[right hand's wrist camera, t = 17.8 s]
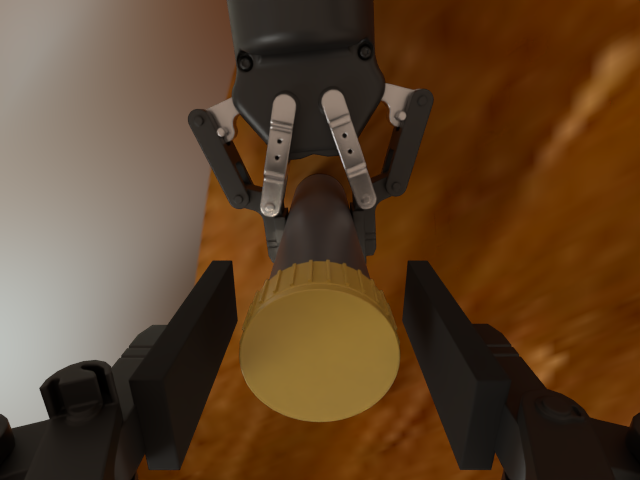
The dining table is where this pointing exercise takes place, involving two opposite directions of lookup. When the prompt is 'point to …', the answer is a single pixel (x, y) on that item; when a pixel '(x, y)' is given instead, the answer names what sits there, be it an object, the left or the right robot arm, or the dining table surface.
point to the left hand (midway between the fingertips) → (323, 261)
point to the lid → (319, 342)
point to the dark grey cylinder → (319, 227)
